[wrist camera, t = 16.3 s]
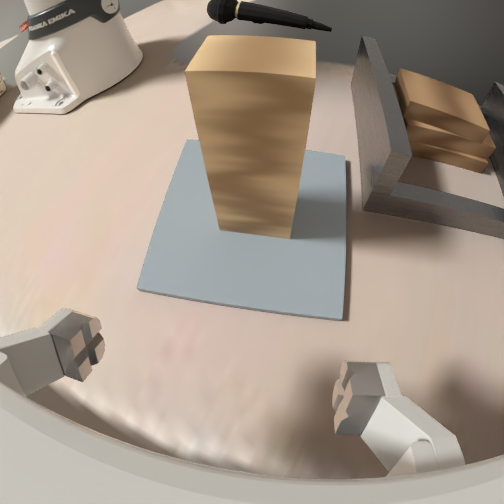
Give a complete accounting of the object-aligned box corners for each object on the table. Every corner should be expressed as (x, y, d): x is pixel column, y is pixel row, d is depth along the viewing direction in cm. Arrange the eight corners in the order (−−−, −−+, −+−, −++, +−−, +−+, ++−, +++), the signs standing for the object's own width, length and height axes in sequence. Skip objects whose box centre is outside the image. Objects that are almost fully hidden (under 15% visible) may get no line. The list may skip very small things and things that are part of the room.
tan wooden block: (219, 230, 22) (184, 71, 10) (228, 190, 23) (208, 35, 12) (289, 239, 22) (315, 78, 10) (294, 198, 23) (315, 41, 11)
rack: (362, 210, 23) (391, 150, 17) (350, 84, 31) (361, 35, 24) (524, 243, 22) (565, 208, 15) (481, 122, 29) (503, 85, 23)
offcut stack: (384, 151, 26) (403, 104, 21) (374, 107, 29) (388, 64, 24) (480, 174, 25) (506, 139, 20) (463, 130, 28) (482, 95, 23)
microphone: (326, 43, 41) (211, 21, 41) (334, 14, 37) (215, -8, 37) (327, 47, 38) (200, 23, 38) (336, 15, 33) (205, -8, 33)
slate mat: (139, 290, 21) (136, 287, 20) (188, 144, 27) (187, 139, 26) (340, 320, 20) (342, 319, 19) (343, 160, 25) (345, 156, 25)
